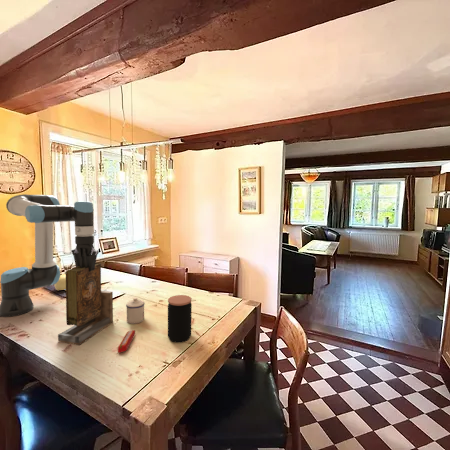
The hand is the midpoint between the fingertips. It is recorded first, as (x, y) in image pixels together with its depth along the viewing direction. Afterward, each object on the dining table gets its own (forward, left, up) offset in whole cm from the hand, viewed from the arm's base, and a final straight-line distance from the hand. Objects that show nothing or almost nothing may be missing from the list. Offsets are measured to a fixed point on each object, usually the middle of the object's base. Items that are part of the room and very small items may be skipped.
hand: (85, 285), depth 118 cm
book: (0, 0, -16) cm, 16 cm away
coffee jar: (+44, +7, -23) cm, 50 cm away
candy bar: (+24, -4, -23) cm, 33 cm away
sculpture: (-58, +46, -23) cm, 77 cm away
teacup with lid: (+14, +18, -23) cm, 32 cm away
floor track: (0, +1, -22) cm, 22 cm away
